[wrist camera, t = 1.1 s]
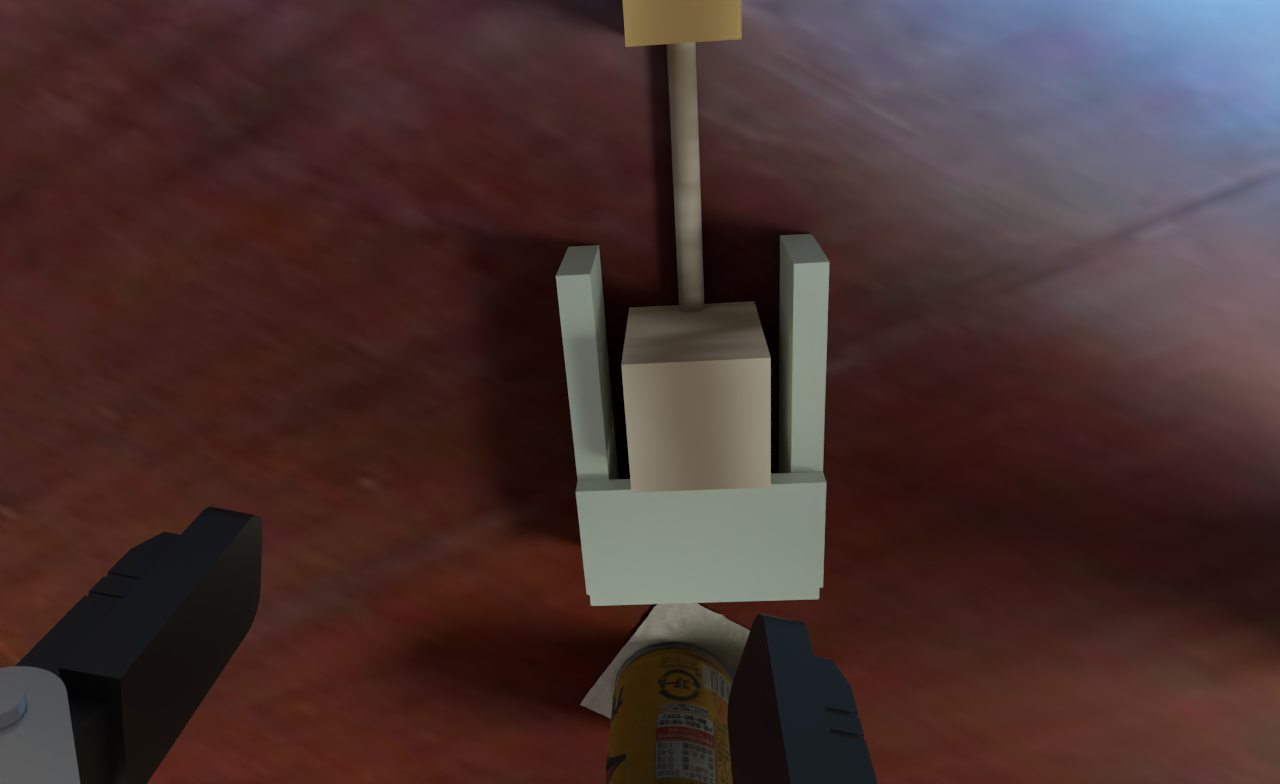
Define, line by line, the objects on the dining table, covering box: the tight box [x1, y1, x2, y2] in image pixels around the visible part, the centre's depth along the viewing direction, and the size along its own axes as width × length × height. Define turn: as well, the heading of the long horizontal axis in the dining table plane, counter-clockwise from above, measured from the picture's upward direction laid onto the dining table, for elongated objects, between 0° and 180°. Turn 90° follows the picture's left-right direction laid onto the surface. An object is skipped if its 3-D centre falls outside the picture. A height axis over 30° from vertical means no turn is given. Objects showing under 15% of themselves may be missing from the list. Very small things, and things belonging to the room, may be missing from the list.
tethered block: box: [621, 0, 771, 493], centre depth 29 cm, size 5×18×7 cm, turn 4°
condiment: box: [580, 603, 750, 784], centre depth 36 cm, size 7×8×12 cm
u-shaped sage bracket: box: [556, 234, 829, 606], centre depth 33 cm, size 9×14×5 cm, turn 4°
